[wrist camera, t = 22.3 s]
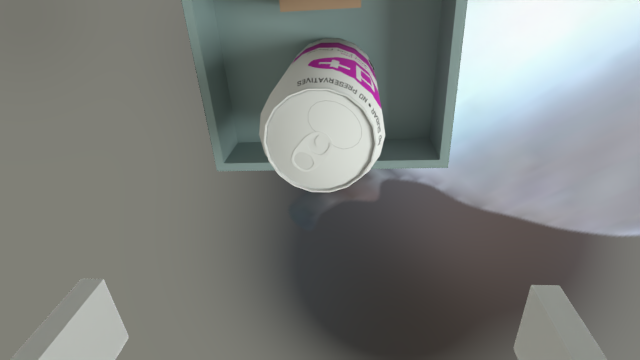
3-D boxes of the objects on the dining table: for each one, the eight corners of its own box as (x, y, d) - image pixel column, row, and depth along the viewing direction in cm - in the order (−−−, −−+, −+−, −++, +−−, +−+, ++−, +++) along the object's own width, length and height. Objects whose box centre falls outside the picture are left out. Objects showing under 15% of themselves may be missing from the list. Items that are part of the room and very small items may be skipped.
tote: (183, -126, 30) (150, -144, 25) (465, -152, 28) (488, -178, 23) (233, 147, 41) (217, 171, 37) (436, 143, 39) (447, 167, 35)
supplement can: (325, 16, 34) (306, 46, 21) (393, 76, 36) (415, 137, 23) (273, 86, 37) (229, 149, 24) (338, 137, 39) (329, 221, 26)
